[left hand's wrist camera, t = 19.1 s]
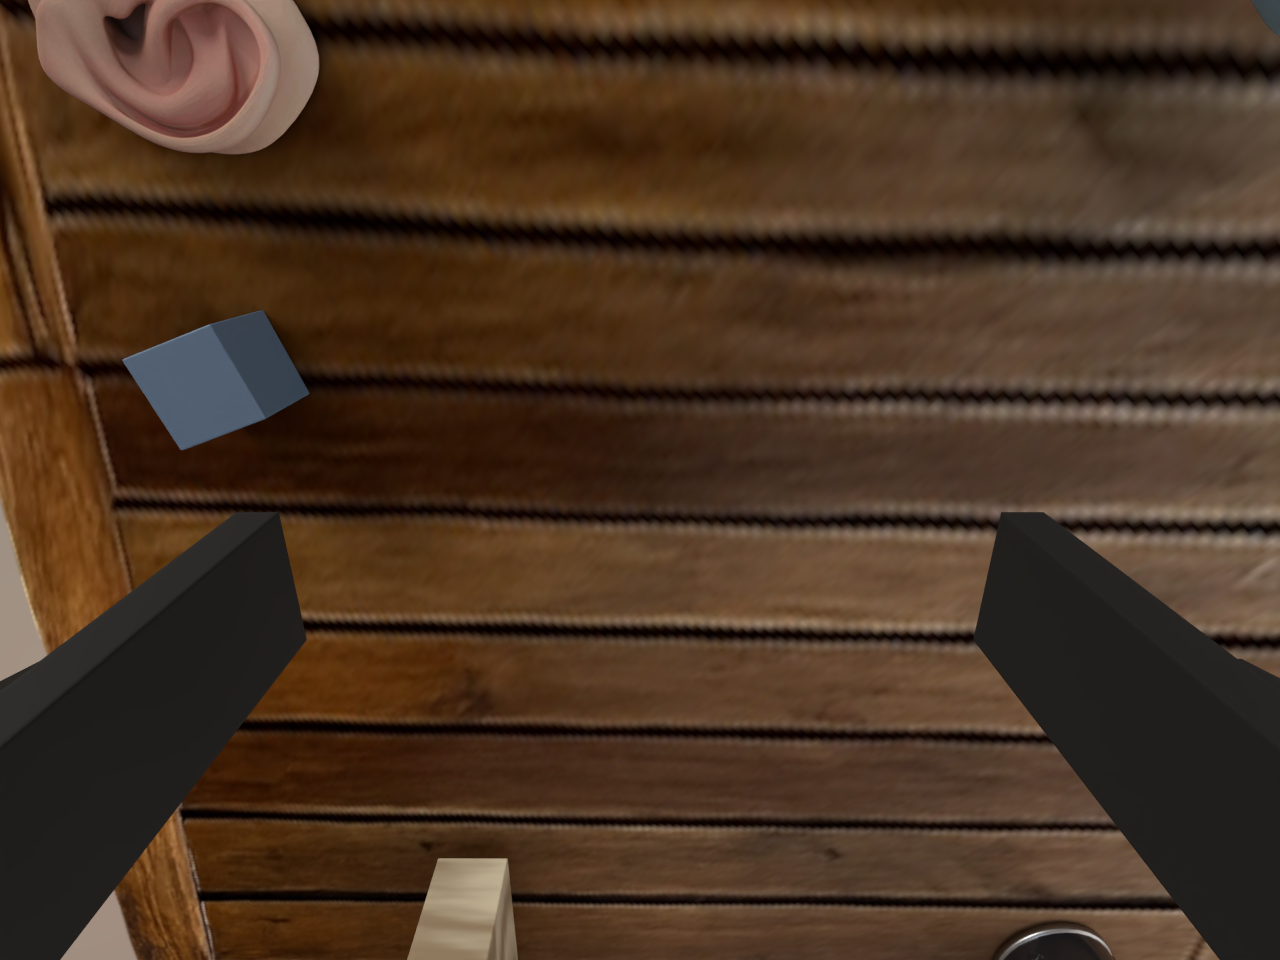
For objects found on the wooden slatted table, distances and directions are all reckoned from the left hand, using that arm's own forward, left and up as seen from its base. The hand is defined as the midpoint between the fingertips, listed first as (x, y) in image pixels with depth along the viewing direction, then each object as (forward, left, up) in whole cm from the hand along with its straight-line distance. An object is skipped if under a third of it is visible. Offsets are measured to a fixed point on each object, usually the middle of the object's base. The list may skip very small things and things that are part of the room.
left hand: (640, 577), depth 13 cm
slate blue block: (+22, +2, -27) cm, 35 cm away
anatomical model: (+22, -15, -27) cm, 38 cm away
